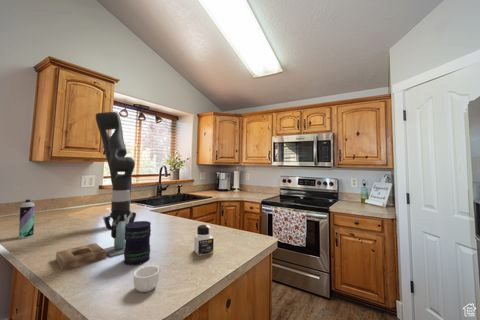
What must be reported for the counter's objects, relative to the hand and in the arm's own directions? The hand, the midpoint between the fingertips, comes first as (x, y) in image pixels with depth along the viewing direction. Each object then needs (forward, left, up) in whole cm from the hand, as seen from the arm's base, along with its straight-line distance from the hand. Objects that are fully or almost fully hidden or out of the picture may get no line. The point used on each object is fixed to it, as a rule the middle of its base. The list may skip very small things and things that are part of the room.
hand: (119, 236), depth 98 cm
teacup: (+5, +38, -7) cm, 39 cm away
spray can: (+26, -55, -7) cm, 61 cm away
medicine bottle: (-25, +30, -7) cm, 40 cm away
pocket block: (+14, -2, -6) cm, 16 cm away
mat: (0, 0, -6) cm, 6 cm away
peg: (0, 0, -5) cm, 5 cm away
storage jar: (-1, +16, -7) cm, 17 cm away
